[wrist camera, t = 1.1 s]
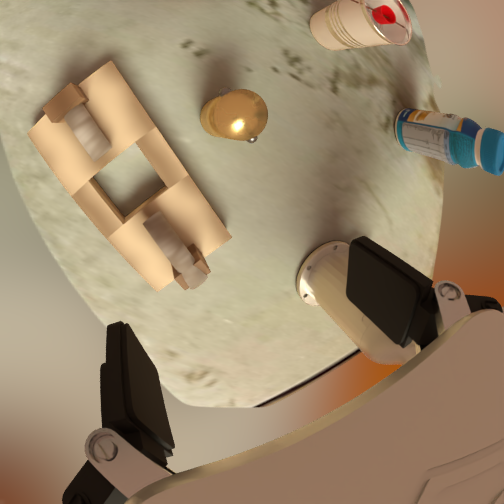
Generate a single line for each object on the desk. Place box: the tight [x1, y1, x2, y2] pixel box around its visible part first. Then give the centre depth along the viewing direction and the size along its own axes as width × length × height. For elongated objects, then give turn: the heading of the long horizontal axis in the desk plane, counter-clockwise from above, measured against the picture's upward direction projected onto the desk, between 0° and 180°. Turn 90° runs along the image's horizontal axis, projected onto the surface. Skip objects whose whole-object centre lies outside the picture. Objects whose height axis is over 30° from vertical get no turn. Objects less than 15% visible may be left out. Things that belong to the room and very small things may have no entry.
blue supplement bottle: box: [395, 108, 504, 176], centre depth 31 cm, size 8×8×20 cm
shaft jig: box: [27, 61, 232, 292], centre depth 25 cm, size 12×26×8 cm, turn 30°
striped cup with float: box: [310, 0, 412, 51], centre depth 22 cm, size 10×8×12 cm
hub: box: [200, 87, 268, 143], centre depth 26 cm, size 5×6×8 cm
